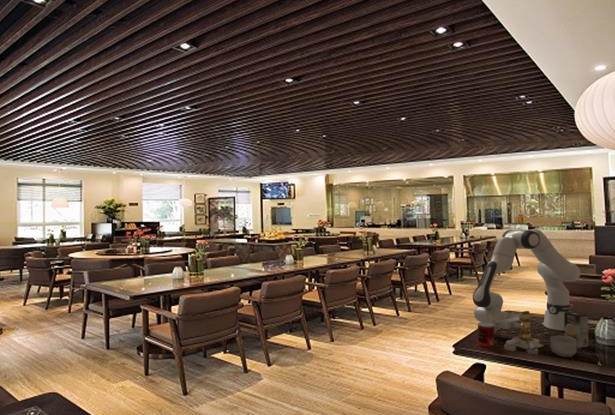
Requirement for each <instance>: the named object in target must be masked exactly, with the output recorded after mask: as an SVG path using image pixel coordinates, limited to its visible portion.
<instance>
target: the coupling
mask: <svg viewBox="0 0 615 415" xmlns="http://www.w3.org/2000/svg"><path fill="white" fill-rule="evenodd" d="M518 315H519V320H521V324H524V328H520V331H519V332H518V337H519V338H520V339H521V340H524V341H526V340H530V341H531V338H532V333H531V332H530V326H529V323H530V322H531V321H532V314H531V313H530V310H524V311H521V312H519V313H518Z"/></svg>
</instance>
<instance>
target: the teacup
mask: <svg viewBox="0 0 615 415" xmlns="http://www.w3.org/2000/svg"><path fill="white" fill-rule="evenodd" d="M549 339H550V340H549V341H550V348H551V351H552V352H553V353H554V354H555V355H556V356H559V357H561V358H562V357H563V358H572V357H573V356H574V355H576V353H577V349H578V347H577V346H576V339H574V338H572V337H570V336H569V337H566V336H563V335H555V336H554V335H553V336H550V337H549Z"/></svg>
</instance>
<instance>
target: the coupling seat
mask: <svg viewBox="0 0 615 415" xmlns="http://www.w3.org/2000/svg"><path fill="white" fill-rule="evenodd" d="M531 342H532V343H533V344H534V345H535V347H536V349H539V348H541V347H545V345H544V344H541V343H540V340H539V339H538V338H533V337H531ZM517 348H522V349H524V350H526V348H530V347H529V346H528V345H527V344H526V341H524V340H521V339H520V338H519V336H515V337H512V338H511V339H508V340H506V341H505V344H503V349H505V350H507V351H510V352H511V351H512V352H514V351H517Z"/></svg>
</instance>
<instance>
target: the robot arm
mask: <svg viewBox="0 0 615 415" xmlns="http://www.w3.org/2000/svg"><path fill="white" fill-rule="evenodd" d="M518 249H519V250H523V249H524V250H530V251H531V252H532V253H533V255H534V257H535V258H536V259H537V261H539V263H538V265H537V266H536V267H537V269H536V270H537V273H538V274H539V276H540V277H541V278H542V280H543V282H544V284H545V287H546V293H547V302H546V310H545V311H544V318H543V319H544V320H543V321H542V323H541V324H542V325H543V326H544V327H546V328H547V329H550V330H556V331H562V332H563V331H564V312H570V311H572V309H573V308H574V304H572V303H570V291H569V289H568V288H567V287H566V286H565V284H564V282H566V283H567V282H568V283H569V282H570V283H571V282H576V281H578V280H579V278H581V270H580V267H579V266H577V265H576V264H574V263H573V262H571V261H569V260H568V259H567V258H565V256H563V255H562V254H561V253H559V251H558V250H557V248H555V247H554V245H553V244H552V242H551V241H550V240H549V238H548V237H547V236H546V235H545V233H544V232H542V231H541V230H540V229H537V228H532V229H508V230H505V231H504V232H503V234H502V236H501V237H500V238H498V240H497V242H496V244H495V246H494V249H493V252H492V256H491V259H490V260H489V262H488V263H487V264H486V266H485V268H484V270H483V271H482V275H481V277H480V279H479V282H478V285H477V287H476V288H475V290H474V291H473V294H472V301H473V304H474V305H475V306H476V307H475V308H474V310H473V315H474V318H475V319H476V321H477V322H479V323H480V322H487V323H492V324H494V327H496V328H500V329H504V330H509V329H513V328H520V329H521V328H524V324H521V320H519V313H518V314H517V313H515V312H513V311H505V310H502V309H503V306H504V305H503V304H504V299H503V297H502V296H501V294H499V293H497V292H494V291H491V288H492V283H493V282H494V280H495V277H496V276H497V275H499V274H500V273H501V274H502V273H505V272H507V271H509V270H511V268H512V267H513V265H514V261H515V256H516V255H515V254H516V251H517V250H518ZM529 327H531V322H529Z"/></svg>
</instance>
